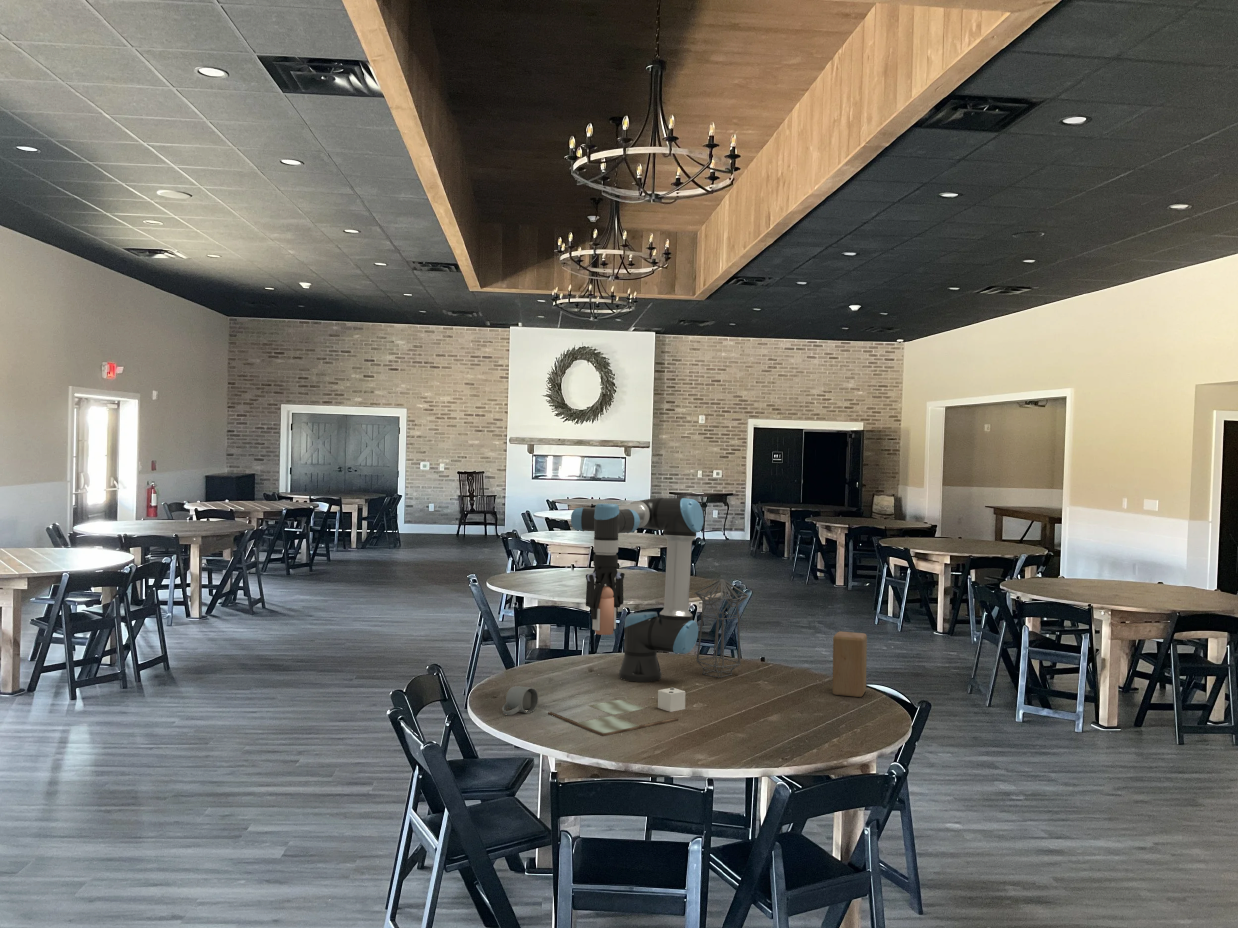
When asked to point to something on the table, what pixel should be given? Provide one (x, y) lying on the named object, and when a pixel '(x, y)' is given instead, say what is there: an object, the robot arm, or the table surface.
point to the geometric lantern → (726, 585)
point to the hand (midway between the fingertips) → (604, 628)
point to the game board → (612, 719)
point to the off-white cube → (671, 699)
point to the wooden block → (849, 663)
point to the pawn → (606, 612)
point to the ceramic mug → (520, 700)
